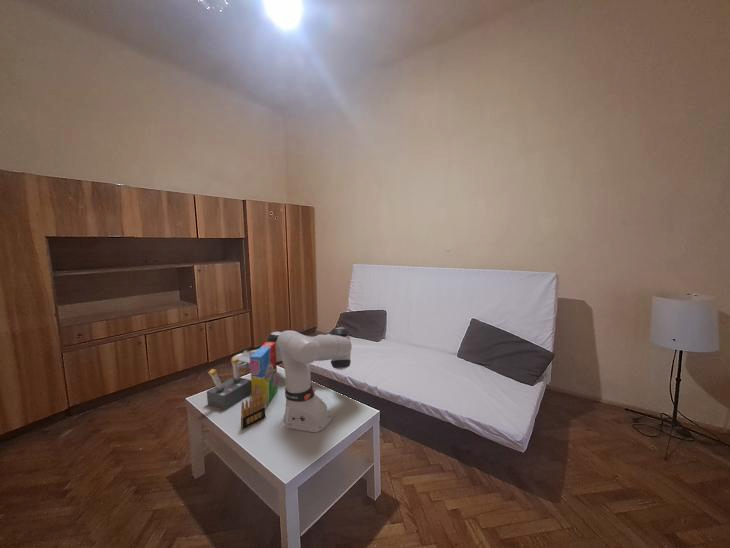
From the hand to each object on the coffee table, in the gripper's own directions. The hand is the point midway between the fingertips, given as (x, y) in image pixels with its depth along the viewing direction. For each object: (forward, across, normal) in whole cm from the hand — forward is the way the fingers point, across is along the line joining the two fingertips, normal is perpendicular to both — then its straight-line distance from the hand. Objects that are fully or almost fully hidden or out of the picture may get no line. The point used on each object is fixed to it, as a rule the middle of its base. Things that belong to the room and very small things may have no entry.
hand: (236, 367), depth 150 cm
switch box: (+5, -1, -14) cm, 15 cm away
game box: (-2, -18, -15) cm, 24 cm away
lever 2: (0, 0, -7) cm, 7 cm away
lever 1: (+10, -1, -7) cm, 12 cm away
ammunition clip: (+14, -27, -15) cm, 34 cm away
